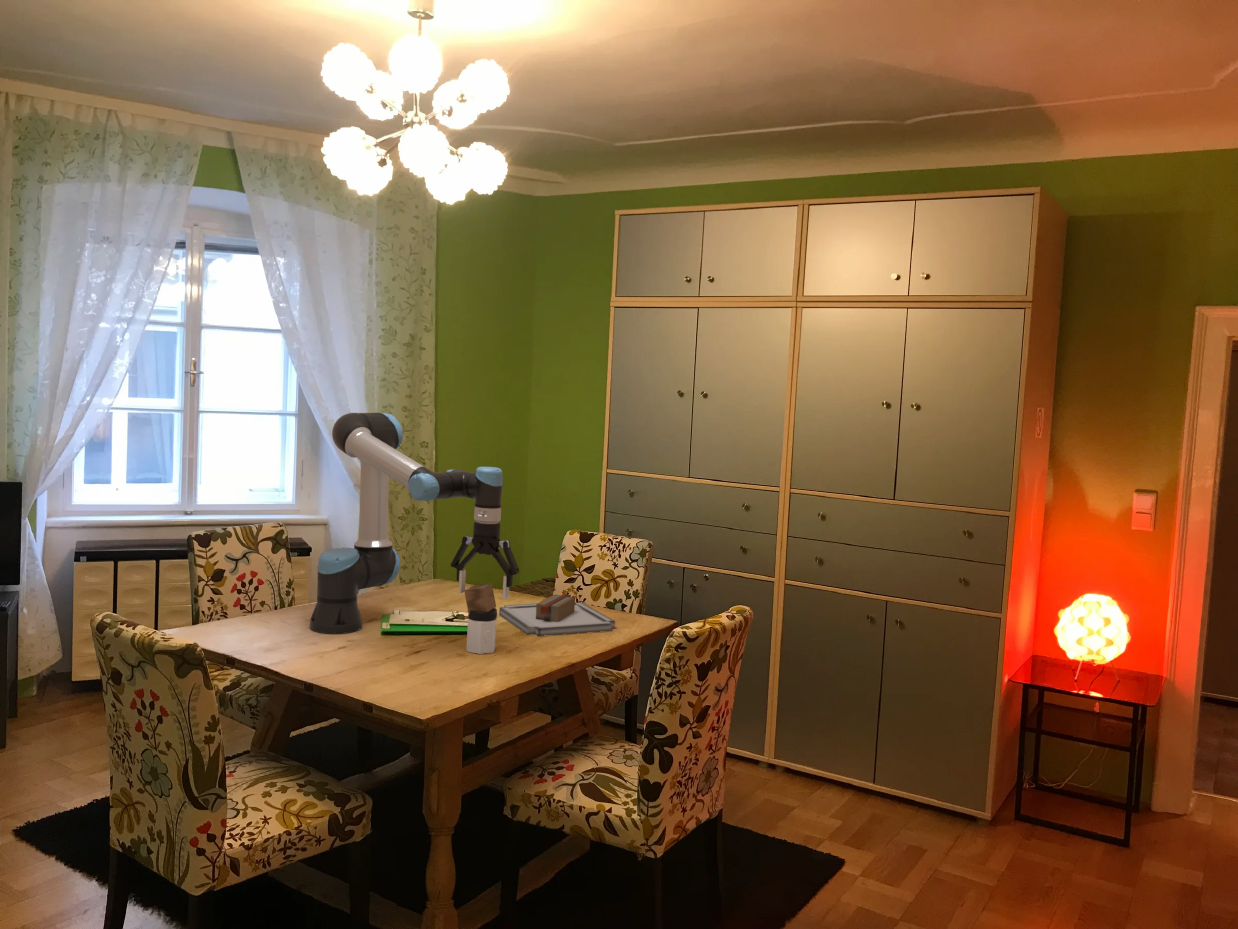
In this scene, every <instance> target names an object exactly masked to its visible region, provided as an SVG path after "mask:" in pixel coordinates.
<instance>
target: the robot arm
mask: <svg viewBox="0 0 1238 929" xmlns="http://www.w3.org/2000/svg"><path fill="white" fill-rule="evenodd" d="M331 433H332V434H331V436H332V440H333V443H334V444H335V446H336V447H337V448H338V449H339V450H340V451H341V452H342V453H344V454H346V455H347V456H349V457H351V458H357V459H358V461H359V462H360V477H359V478H360V479H359V481H360V482H359V485H360V487H359V490H360V492H359V535H358V536H359V538H358V539H357V540H356V541H355V542H354V544H353V547H341V548H339V547H337V548H331V549H328V550H325V551H323V552H322V553H321V554H320V555H319V557H318V565H317V566H316V568H317V583H316V584H317V585H316V586H317V588H316V590H317V591H316V592H317V593H316V604H315V607H314V609H313V612H312V614H311V617H310V621H309V628H310V630H311V631H314V632H317V633H320V634H321V633H322V634H334V635H335V634H348V633H354V632H357V631H359V630H361V629H362V628H363V618H362V614H361V612H360V608H359V604H358V590H363V589H364V590H365V589H369V588H374V587H377V588H378V587H382V586H384V585H388V584H390V583H392V582H394V580H395V579H396V578H397V576H398V575H399V573H400V572H399V571H400V568H401V560H400V556H399V555H398V552H397V550H396V549H394V548H393V543H392V542H391V540H389V536H388V534H389V497H390V496H389V495H390V494H389V488H390V486H389V485H390V483H389V482H390V478H391V479H393V480H395V481H396V482H397V483H399V484H401V485H403V486H404V487H406V488H407V489H408V493H409V494H410V495H411V498H412V499H414V500H416V501H418V502H419V501H420V502H421V501H424V502H429V501H436V500H444V499H453V498H454V499H455V498H465V499H466V498H467V499H473V500H474V512H473V519H474V522H473V530H472V531H473V532H472V534H473V537H471V536H470V535H465V536H463V537H462V539H461V540H462V541H461V545H460V547H459V548H458V550H457V552H456V554H455V556H454V557H453V559H452V561H451V563H450V567H451V568H454V569H456V581H457V582H458V594H463V593H465V592H464V590H466V581H467V580H466V577H467V569H466V568H465V567H466V566H467V565H468V563H470V562H471V560H472V559H474V557H475V556H476V555H477V554H479V555H486V556H492V557H493V558H494V559H495V561H496V562H497V563H498V565H499V566H500V568H501V569H502V571H503V572H504V574H505V575H503V578H502V579H503V581H502V582H503V583H502V598H501V599H502V600H506V599H509V598H510V597H509V596H510V588H511V587H512V586H513V579H514V578H513V577H514V575H515V576H516V575H518V574H519V573H520V569H519V566H518V563H517V561H516V558H515V557H514V556H515V555H514V553H513V550H512V548H511V541H510V540H509V539H507V540H500V538H501V537H500V536H501V523H500V522H501V519H502V516H501V515H502V497H503V496H502V495H503V487H504V486H503V485H504V482H503V481H504V480H503V470H502V469H501V468H499V467H495V466H478V467H477V468H476V472H475V471H474V472H472V471H467V470H462V469H447V470H446V471H442V472H441V471H439V472H434V471H432V470H430V469H429V468H427V467H425V466H424V465H422V464H420V463H419V462H417V461H415V459H413V458H410V457H409V456H407V455H405V454H404V453H402V452H400V451H399V450H397V449H398V448H400V445H401V444H402V442H403V437H404V436H403V435H404V433H403V429H402V425H401V423H400V421H398V420H397V418H396V417H395V416H394V415H393V414H390V413H388V412H387V413H385V412H378V411H377V412H350V413H349V412H348V413H346V414H343V415H341V416H340V417H339V418H337V420H336V421H335V422H334V424H333V426H332V431H331ZM471 543H472V545H473V548H472V549H471V550H470V551H469V553H468V554H466V556H465V557H464V558H463V556H464V554H465V552H466V550H467V549H468V548H469V545H470V544H471ZM500 547H501V549H503V553H504V555H505V557H504V556H503V555H502V552H501V550H500ZM462 558H463V559H462Z"/></svg>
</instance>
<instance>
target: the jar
mask: <svg viewBox="0 0 1238 929" xmlns="http://www.w3.org/2000/svg"><path fill="white" fill-rule="evenodd" d="M467 617H468V619H467V631H466V632H467V633H466V634H467V635H466V652H467V653H471V654H475V653H477V654H476V655H486V653H487V654H494V653H495V651H496V638H497V619H498V618H497V617H498V609H497V607H495V608H494V609H492V610H490V611H489V612H479V611H470V614H469V613H468V615H467ZM484 653H485V654H484Z"/></svg>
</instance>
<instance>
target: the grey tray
mask: <svg viewBox="0 0 1238 929" xmlns="http://www.w3.org/2000/svg"><path fill="white" fill-rule="evenodd" d="M498 613H499V614H498V615H499V616H500V617H502V618H503V619H504V620H505V621H507V622H509V623H510V624H511V625H512V626H514V627H515V628H517V629H518V630H519V631H521V632H522V631H523V633H524V634H525V633H526V634H525V635H526V636H530V635H529V634H534V635H535V634H536V635H537V636H536V635H535V636H536V637H538V636H539V637H545V636H544V635H553V636H563V634H566V635H576V634H577V633H580V634H588V633H587V632H594V633H601V632H600V631H607V632H612V630H614V629H616V620H614V619H612V618H611V617H608V616H607V615H605V614H604V613H602V612H600V611H599V610H596V609H594V608H593V607H590V606H589V605H588V604H586V603H584V602H576V597H575V596H572V595H571V594H566V593H563V594H561V595H559V594H552V595H551V596H548V597H547V598H545V599H543V600H541V601H539V602H537V603H535V602H534V603H519V604H518V603H517V604H504V605H503V607H502V606H501V607H499V612H498Z"/></svg>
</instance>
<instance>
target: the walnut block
mask: <svg viewBox="0 0 1238 929" xmlns="http://www.w3.org/2000/svg"><path fill="white" fill-rule="evenodd" d="M463 593H464V596H465V597H464V598H465V602H466V607H467V612H468V613H469V614H470V611H479V612H489V611H490V610H492V609H494V608H497V603H496V599H495V598H496V597H495V592H494V587H493V583H492V582H490V583H482V584H477V585H476V584H475V585H474V584H473V585H471V586H470V587H468V588H465V590H464V592H463Z"/></svg>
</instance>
